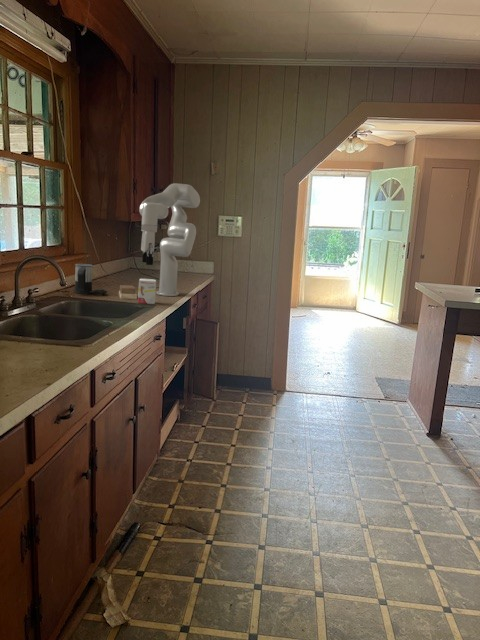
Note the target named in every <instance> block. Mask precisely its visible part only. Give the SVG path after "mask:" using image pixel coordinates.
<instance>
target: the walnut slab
mask: <svg viewBox="0 0 480 640" xmlns="http://www.w3.org/2000/svg"><path fill="white" fill-rule="evenodd" d="M119 291H120V292H121V294H135V293H136V287H135V286H134V285H122V284H121V285H119Z"/></svg>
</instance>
